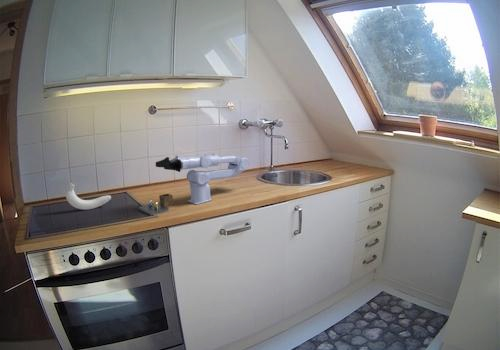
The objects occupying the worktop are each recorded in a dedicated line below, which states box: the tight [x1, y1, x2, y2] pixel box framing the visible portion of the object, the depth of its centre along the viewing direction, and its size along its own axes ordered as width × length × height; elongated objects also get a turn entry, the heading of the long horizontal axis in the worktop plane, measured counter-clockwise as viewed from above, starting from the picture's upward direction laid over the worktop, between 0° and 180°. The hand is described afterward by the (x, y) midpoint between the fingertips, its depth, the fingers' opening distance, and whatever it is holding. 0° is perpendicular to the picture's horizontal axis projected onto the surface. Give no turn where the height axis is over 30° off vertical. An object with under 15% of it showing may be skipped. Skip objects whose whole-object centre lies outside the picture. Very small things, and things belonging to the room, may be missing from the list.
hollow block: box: [158, 193, 174, 208], centre depth 159 cm, size 5×5×5 cm
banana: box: [65, 182, 112, 211], centre depth 156 cm, size 5×19×15 cm, turn 123°
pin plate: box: [138, 198, 170, 216], centre depth 153 cm, size 9×12×4 cm
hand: (160, 165), depth 146 cm, fingers open, 7 cm apart
